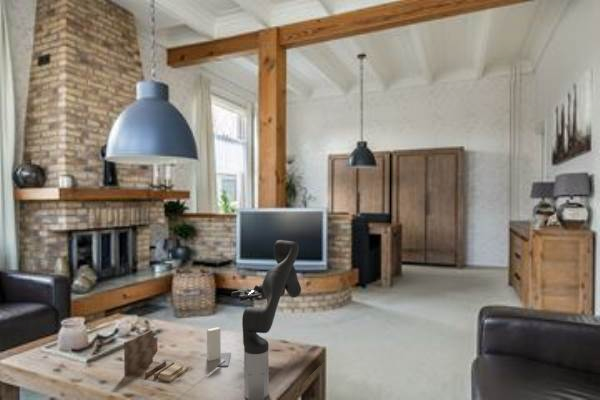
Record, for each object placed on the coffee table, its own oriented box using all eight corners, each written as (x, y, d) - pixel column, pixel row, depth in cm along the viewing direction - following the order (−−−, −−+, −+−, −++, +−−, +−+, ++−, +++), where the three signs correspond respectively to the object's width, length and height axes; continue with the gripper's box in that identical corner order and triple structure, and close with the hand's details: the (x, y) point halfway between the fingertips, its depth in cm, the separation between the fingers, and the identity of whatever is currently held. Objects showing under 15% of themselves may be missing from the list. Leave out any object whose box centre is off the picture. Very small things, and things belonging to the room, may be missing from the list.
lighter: (139, 355, 190) (139, 334, 190) (140, 353, 194) (140, 332, 193) (157, 354, 192) (157, 333, 192) (158, 351, 196) (158, 330, 196)
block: (218, 357, 187) (218, 327, 187) (220, 358, 185) (220, 328, 185) (207, 360, 184) (206, 329, 184) (209, 361, 182) (209, 331, 182)
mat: (228, 366, 178) (228, 365, 178) (195, 367, 177) (195, 366, 177) (230, 354, 192) (230, 352, 192) (200, 355, 191) (200, 353, 191)
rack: (150, 362, 182) (150, 329, 182) (194, 370, 175) (194, 335, 175) (124, 378, 167) (124, 342, 167) (171, 387, 160) (170, 349, 159)
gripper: (257, 281, 206) (228, 285, 197) (272, 286, 195) (242, 291, 185) (257, 296, 206) (228, 301, 197) (272, 302, 195) (242, 307, 185)
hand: (235, 296), depth 191 cm, fingers open, 8 cm apart
